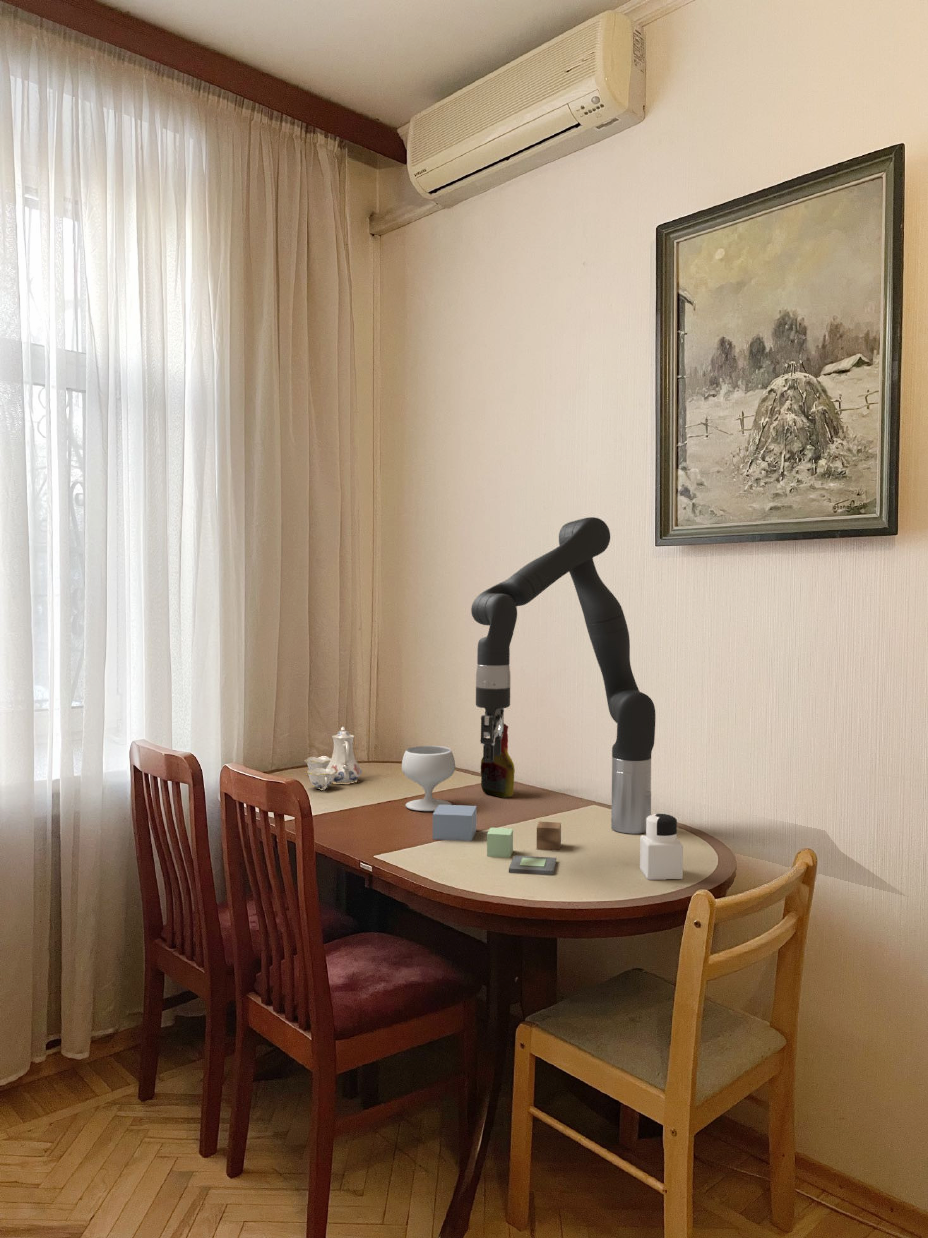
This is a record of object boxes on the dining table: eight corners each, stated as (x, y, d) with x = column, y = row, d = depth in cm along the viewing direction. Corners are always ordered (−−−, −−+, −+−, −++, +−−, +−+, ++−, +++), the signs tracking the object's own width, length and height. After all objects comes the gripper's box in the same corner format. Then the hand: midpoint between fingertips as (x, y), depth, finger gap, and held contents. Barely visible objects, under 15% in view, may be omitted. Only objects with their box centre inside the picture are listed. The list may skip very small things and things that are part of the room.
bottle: (520, 797, 253) (521, 724, 252) (502, 801, 249) (502, 727, 249) (493, 789, 263) (494, 719, 262) (475, 792, 259) (475, 721, 258)
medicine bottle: (673, 868, 192) (674, 811, 192) (683, 880, 185) (683, 820, 185) (639, 869, 192) (640, 811, 192) (647, 880, 185) (648, 820, 185)
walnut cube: (560, 844, 210) (561, 822, 210) (559, 851, 205) (559, 828, 205) (538, 843, 211) (538, 821, 210) (536, 849, 206) (536, 827, 206)
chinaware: (300, 779, 283) (294, 725, 282) (354, 770, 288) (348, 717, 287) (312, 800, 256) (305, 741, 255) (371, 790, 261) (365, 732, 260)
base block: (476, 831, 221) (476, 806, 221) (471, 841, 212) (471, 815, 212) (439, 829, 222) (439, 804, 222) (432, 840, 213) (432, 814, 213)
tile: (556, 861, 197) (556, 856, 197) (552, 875, 188) (552, 870, 188) (514, 859, 199) (514, 854, 199) (508, 872, 190) (508, 867, 190)
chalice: (444, 815, 234) (444, 756, 234) (393, 810, 239) (393, 752, 238) (462, 802, 248) (462, 746, 247) (413, 798, 252) (413, 743, 251)
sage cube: (512, 851, 205) (513, 828, 204) (510, 858, 200) (510, 835, 200) (490, 850, 206) (490, 827, 205) (487, 856, 201) (487, 833, 200)
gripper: (504, 689, 195) (503, 766, 196) (515, 682, 209) (514, 754, 209) (469, 688, 197) (468, 764, 197) (482, 681, 210) (481, 752, 211)
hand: (492, 759), depth 203 cm, fingers open, 8 cm apart
